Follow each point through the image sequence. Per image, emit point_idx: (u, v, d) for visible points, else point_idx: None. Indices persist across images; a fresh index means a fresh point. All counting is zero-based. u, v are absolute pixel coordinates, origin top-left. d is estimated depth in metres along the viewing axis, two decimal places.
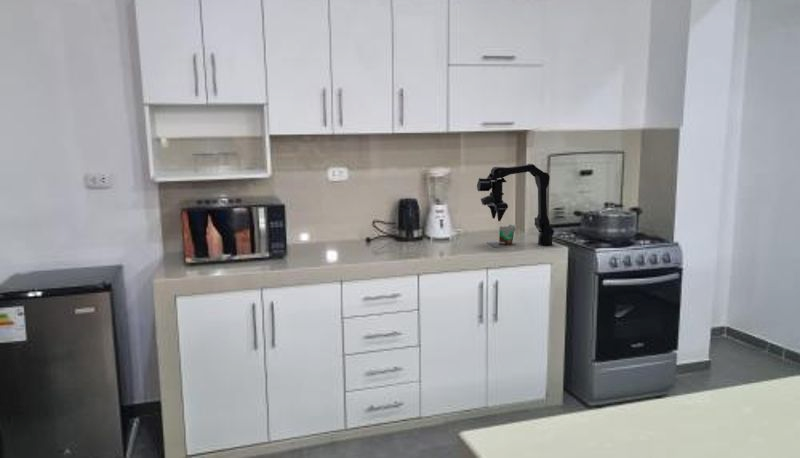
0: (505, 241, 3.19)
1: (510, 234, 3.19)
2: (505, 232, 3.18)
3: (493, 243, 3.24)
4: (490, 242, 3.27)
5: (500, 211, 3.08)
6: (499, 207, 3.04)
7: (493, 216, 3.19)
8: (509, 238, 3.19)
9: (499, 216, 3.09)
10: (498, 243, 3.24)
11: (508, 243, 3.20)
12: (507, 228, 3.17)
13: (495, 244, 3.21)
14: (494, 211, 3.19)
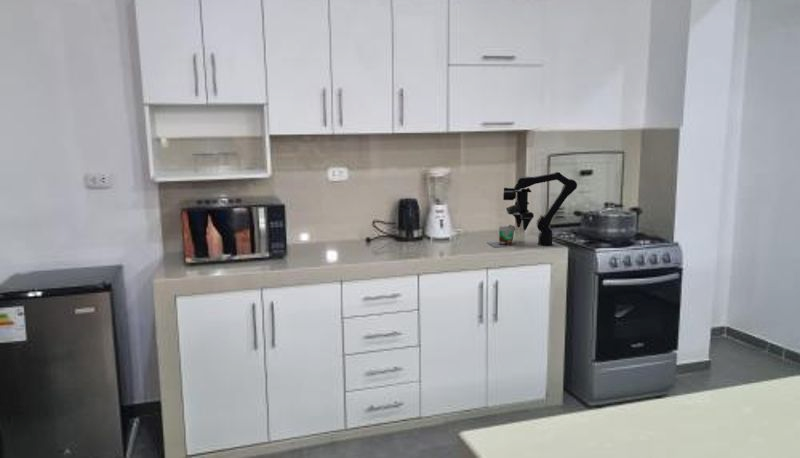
0: (505, 241, 3.19)
1: (510, 234, 3.19)
2: (505, 232, 3.18)
3: (493, 243, 3.24)
4: (490, 242, 3.27)
5: (526, 220, 3.16)
6: (525, 216, 3.11)
7: (518, 225, 3.26)
8: (509, 238, 3.19)
9: (525, 225, 3.16)
10: (498, 243, 3.24)
11: (508, 243, 3.20)
12: (507, 228, 3.17)
13: (495, 244, 3.21)
14: (519, 220, 3.26)
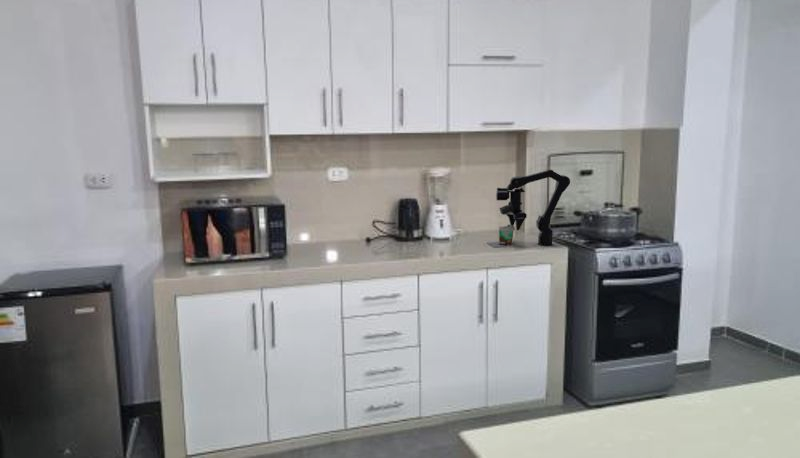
0: (505, 241, 3.19)
1: (510, 234, 3.19)
2: (505, 232, 3.18)
3: (493, 243, 3.24)
4: (490, 242, 3.27)
5: (519, 220, 3.15)
6: (518, 217, 3.11)
7: None
8: (509, 238, 3.19)
9: (518, 225, 3.16)
10: (498, 243, 3.24)
11: (508, 243, 3.20)
12: (507, 228, 3.17)
13: (495, 244, 3.21)
14: (512, 220, 3.26)
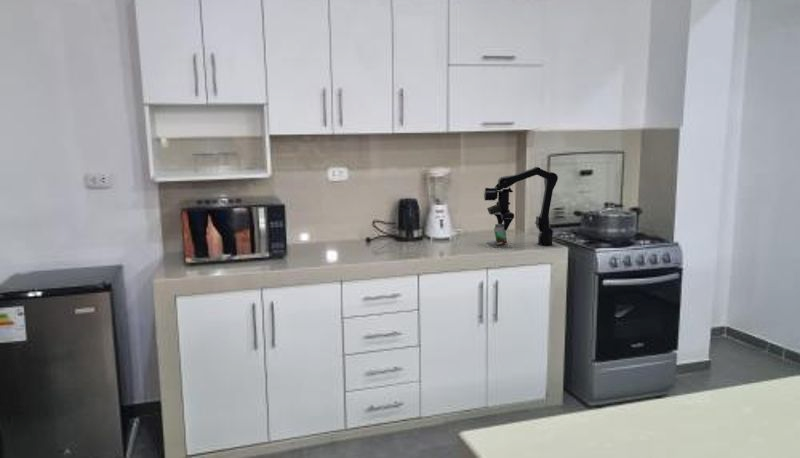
0: (502, 240, 3.17)
1: (504, 232, 3.18)
2: (500, 232, 3.16)
3: (493, 243, 3.24)
4: (490, 242, 3.27)
5: (506, 220, 3.14)
6: (505, 217, 3.10)
7: None
8: (504, 236, 3.18)
9: (505, 225, 3.15)
10: None
11: (505, 241, 3.19)
12: (501, 227, 3.16)
13: (495, 244, 3.21)
14: (500, 220, 3.25)
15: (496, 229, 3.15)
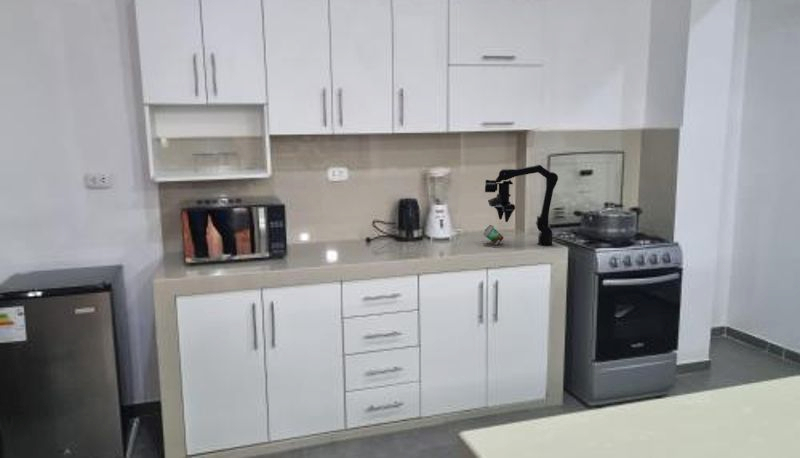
0: (497, 238, 3.17)
1: (494, 231, 3.19)
2: (490, 233, 3.17)
3: (493, 243, 3.24)
4: (490, 242, 3.27)
5: (507, 212, 3.17)
6: (507, 208, 3.12)
7: (500, 217, 3.27)
8: (497, 234, 3.19)
9: (506, 217, 3.17)
10: None
11: (501, 237, 3.19)
12: (488, 229, 3.17)
13: None
14: (501, 212, 3.27)
15: (485, 233, 3.17)
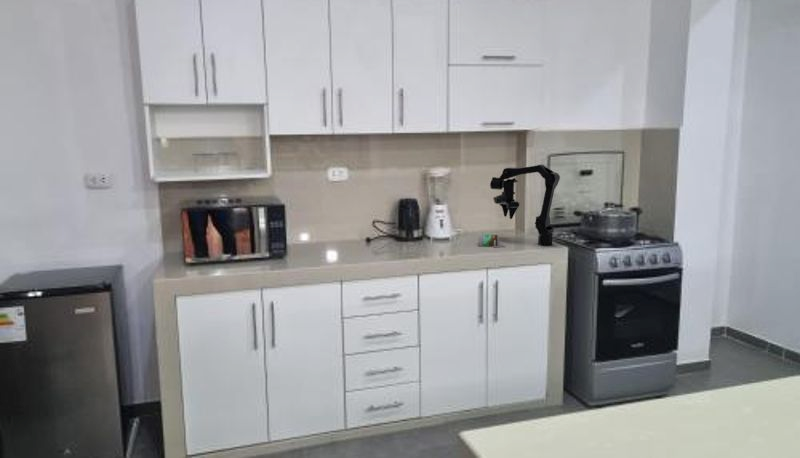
0: (493, 240, 3.18)
1: (486, 236, 3.20)
2: (483, 240, 3.18)
3: None
4: None
5: (512, 209, 3.26)
6: (511, 205, 3.22)
7: (505, 214, 3.37)
8: (490, 236, 3.20)
9: (511, 214, 3.27)
10: (498, 243, 3.24)
11: (495, 236, 3.19)
12: (479, 238, 3.19)
13: None
14: (506, 209, 3.37)
15: (479, 244, 3.18)
